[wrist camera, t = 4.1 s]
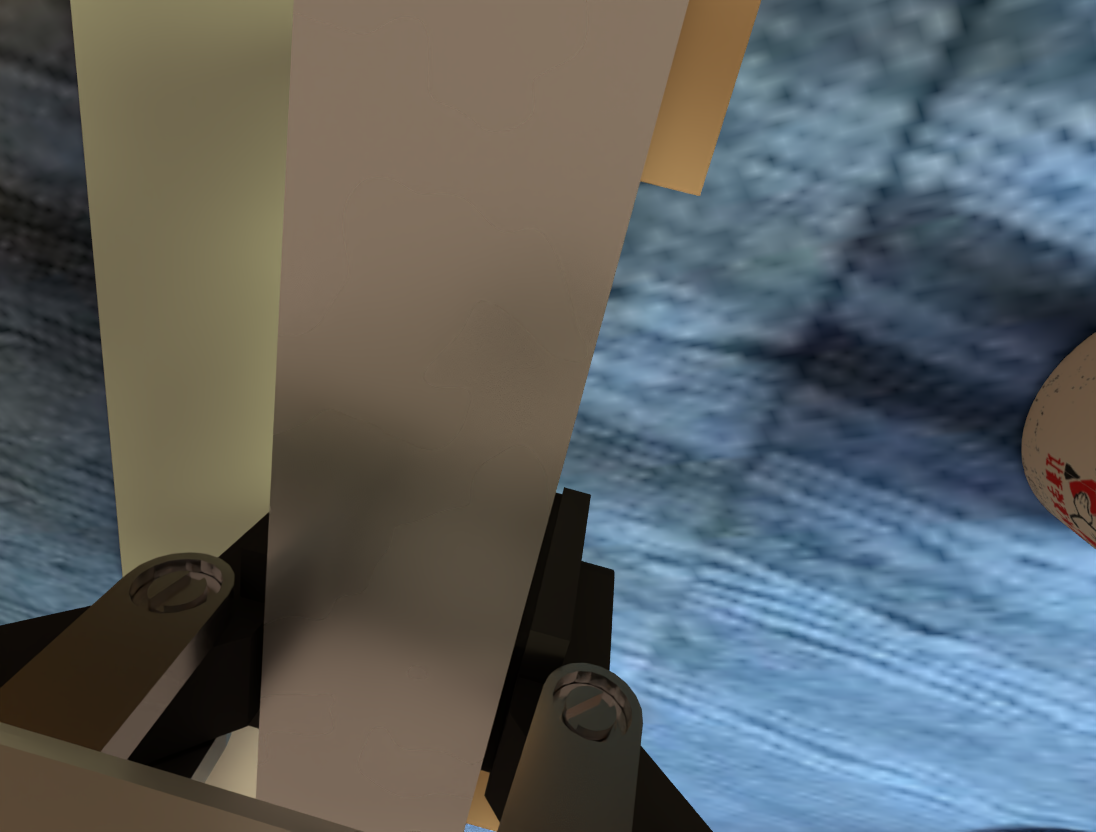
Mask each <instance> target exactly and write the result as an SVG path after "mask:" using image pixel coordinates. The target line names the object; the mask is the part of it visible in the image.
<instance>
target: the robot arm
mask: <svg viewBox="0 0 1096 832" xmlns="http://www.w3.org/2000/svg"><path fill="white" fill-rule="evenodd" d="M590 498H591V495H590V494H586V493H583V492H579V491H576V490H572V489H568V488H565V487H564V490H563V493H562V494H559V493H555V497H554V501H553V504H552V508H551V512H550V515H549V519H548V523H547V526H546V530H545V534H544V537H543V541H542V545H541V548H540V552H539V556H538V560H537V563H536V567H535V571H534V574H533V578H532V582H531V585H530V589H529V593H528V596H527V600H526V604H525V607H524V611H523V615H522V619H521V622H520V626H519V630H518V633H517V637H516V641H515V644H514V648H513V652H512V655H511V659H510V663H509V666H508V670H507V674H506V678H505V681H504V685H503V689H502V692H501V696H500V700H499V703H498V707H497V711H496V714H495V718H494V722H493V725H492V729H491V733H490V736H489V740H488V744H487V748H486V751H485V755H484V759H483V762H482V766H481V770H482V771H485V772H489V773H490V774H489V778H488V782H487V786H486V790H485V794H484V796H485V798H486V800H487V801H488V803H489V805H490V807H491V808H492V810H493V812H494V814H495V815H496V817H497V819H498V820H499V822H500V824H499V827H498V830H497V832H713V831H712V830H711V829H710V828H709V826H708V825H707V824H706V823H705V822H704V820H703V819H702V818H701V817H700V816H699V814H698V813H697V812H696V811H695V810H694V809H693V807H692V806H691V805H690V804H689V803H688V801H687V800H686V799H685V798H684V797H683V795H682V794H681V793H680V792H679V791H678V789H677V788H676V787H675V786H674V785H673V783H672V782H671V781H670V780H669V779H668V777H667V776H666V775H665V774H664V773H663V772H662V770H661V769H660V768H659V767H658V766H657V764H656V763H655V762H654V761H653V760H652V758H651V757H650V756H649V755H648V754H647V752H646V751H645V750H644V749H643V748H642V746H641V736H642V727H643V719H642V709H641V706H640V704H639V702H638V699H637V697H636V695H635V694H634V692H633V691H632V690H631V688H630V687H629V686H628V685H627V683H625V682H624V681H623V680H622V679H621V678H619V677H618V676H617V675H616V674H614V673H613V672H611V671H609V670H610V651H611V633H612V614H613V595H614V570H612V569H609V568H605V567H601V566H598V565H594V564H591V563H587V562H583V561H581V560H582V553H583V546H584V539H585V533H586V526H587V519H588V512H589V505H590ZM268 530H269V512H268V513H267V514H266V515H265V516H264V517H263V518H262V519H260V520H259V521H258V522H257V523H256V524H255V525H254V526H253V527H251V528H250V529H249V530H248V531H247V532H246V533H245V534H244V535H242V536H241V537H240V538H239V539H238V540H237V541H236V542H235V543H234V544H232V545H231V546H230V547H229V548H228V549H227V550H226V551H225V552H223V553H222V554H221V555H220V556H219V557H215V556H212V555H209V554H203V553H194V552H187V553H174V554H170V555H165V556H161V557H157V558H154V559H152V560H150V561H147V562H145V563H143V564H140V565H139V566H137V567H136V568H135V569H133V570H132V571H130V572H129V573H127V574H126V575H125V576H124V577H123V578H122V579H121V580H119V581H118V582H117V583H116V584H115V585H114V586H113V587H112V588H111V589H110V590H108V591H107V592H106V593H105V594H104V595H103V596H102V597H101V598H100V599H98V600H97V601H96V602H95V603H94V604H93V605H92V606H87V607H83V608H78V609H74V610H69V611H65V612H60V613H55V614H51V615H46V616H42V617H37V618H33V619H28V620H23V621H19V622H14V623H10V624H5V625H1V626H0V832H363V831H360V830H357V829H354V828H350V827H347V826H344V825H341V824H337V823H334V822H331V821H327V820H324V819H321V818H318V817H314V816H311V815H308V814H304V813H301V812H298V811H295V810H291V809H288V808H285V807H281V806H278V805H275V804H272V803H268V802H265V801H262V800H258V799H255V798H252V797H249V796H245V795H242V794H239V793H235V792H232V791H229V790H225V789H222V788H219V787H216V786H212V785H209V784H206V783H205V781H206V780H207V778H208V776H209V775H210V773H211V771H212V770H213V768H214V766H215V765H216V763H217V761H218V760H219V758H220V756H221V755H222V753H223V751H224V750H225V748H226V746H227V744H228V741H229V739H230V736H231V732H233V731H236V730H239V729H242V728H244V727H247V726H251V727H254V728H258V729H259V719H260V698H261V677H262V656H263V635H264V614H265V593H266V572H267V551H268Z"/></svg>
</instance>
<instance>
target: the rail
mask: <svg viewBox="0 0 1096 832" xmlns="http://www.w3.org/2000/svg"><path fill="white" fill-rule="evenodd" d="M688 3H689V0H294V5H293V26H292V47H291V68H290V89H289V110H288V131H287V152H286V173H285V194H284V215H283V236H282V257H281V278H280V299H279V320H278V341H277V362H276V383H275V404H274V425H273V446H272V467H271V488H270V509H269V530H268V551H267V572H266V593H265V614H264V635H263V656H262V677H261V698H260V719H259V740H258V761H257V782H256V799H258V800H262V801H265V802H268V803H272V804H275V805H278V806H281V807H285V808H288V809H291V810H295V811H298V812H301V813H304V814H308V815H311V816H314V817H318V818H321V819H324V820H327V821H331V822H334V823H337V824H341V825H344V826H347V827H350V828H354V829H357V830H360V831H363V832H464V829H465V825H466V821H467V818H468V814H469V810H470V807H471V803H472V799H473V795H474V792H475V788H476V784H477V781H478V777H479V773H480V770H481V766H482V762H483V759H484V755H485V751H486V748H487V744H488V740H489V736H490V733H491V729H492V725H493V722H494V718H495V714H496V711H497V707H498V703H499V700H500V696H501V692H502V689H503V685H504V681H505V678H506V674H507V670H508V666H509V663H510V659H511V655H512V652H513V648H514V644H515V641H516V637H517V633H518V630H519V626H520V622H521V619H522V615H523V611H524V607H525V604H526V600H527V596H528V593H529V589H530V585H531V582H532V578H533V574H534V571H535V567H536V563H537V560H538V556H539V552H540V548H541V545H542V541H543V537H544V534H545V530H546V526H547V523H548V519H549V515H550V512H551V508H552V504H553V501H554V497H555V493H556V489H557V486H558V482H559V478H560V475H561V471H562V467H563V464H564V460H565V456H566V453H567V449H568V445H569V442H570V438H571V434H572V430H573V427H574V423H575V419H576V416H577V412H578V408H579V405H580V401H581V397H582V394H583V390H584V386H585V383H586V379H587V375H588V371H589V368H590V364H591V360H592V357H593V353H594V349H595V346H596V342H597V338H598V335H599V331H600V327H601V324H602V320H603V316H604V312H605V309H606V305H607V301H608V298H609V294H610V290H611V287H612V283H613V279H614V276H615V272H616V268H617V265H618V261H619V257H620V253H621V250H622V246H623V242H624V239H625V235H626V231H627V228H628V224H629V220H630V217H631V213H632V209H633V206H634V202H635V198H636V194H637V191H638V187H639V183H640V180H641V176H642V172H643V169H644V165H645V161H646V158H647V154H648V150H649V147H650V143H651V139H652V135H653V132H654V128H655V124H656V121H657V117H658V113H659V110H660V106H661V102H662V99H663V95H664V91H665V88H666V84H667V80H668V76H669V73H670V69H671V65H672V62H673V58H674V54H675V51H676V47H677V43H678V40H679V36H680V32H681V29H682V25H683V21H684V17H685V14H686V10H687V6H688Z"/></svg>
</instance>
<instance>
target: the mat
mask: <svg viewBox="0 0 1096 832" xmlns="http://www.w3.org/2000/svg"><path fill="white" fill-rule="evenodd" d="M70 3H71V14H72V25H73V36H74V47H75V58H76V69H77V80H78V91H79V102H80V113H81V124H82V135H83V146H84V157H85V168H86V179H87V190H88V201H89V212H90V223H91V234H92V245H93V256H94V267H95V278H96V289H97V300H98V311H99V322H100V333H101V344H102V355H103V366H104V376H105V387H106V398H107V409H108V420H109V431H110V442H111V453H112V464H113V475H114V486H115V497H116V508H117V519H118V530H119V541H120V552H121V563H122V574H123V577H124V576H125V575H126V574H127V573H129V572H130V571H132V570H133V569H135V568H136V567H137V566H139V565H140V564H143V563H145V562H147V561H150V560H152V559H154V558H157V557H161V556H165V555H170V554H174V553H187V552H194V553H203V554H209V555H212V556H215V557H219V556H220V555H221V554H222V553H223V552H225V551H226V550H227V549H228V548H229V547H230V546H231V545H232V544H234V543H235V542H236V541H237V540H238V539H239V538H240V537H241V536H242V535H244V534H245V533H246V532H247V531H248V530H249V529H250V528H251V527H253V526H254V525H255V524H256V523H257V522H258V521H259V520H260V519H262V518H263V517H264V516H265V515H266V514H267V513H268V512H269V509H270V488H271V467H272V446H273V425H274V404H275V383H276V362H277V341H278V320H279V299H280V278H281V257H282V236H283V215H284V194H285V173H286V152H287V131H288V110H289V89H290V68H291V47H292V26H293V5H294V0H70Z"/></svg>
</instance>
